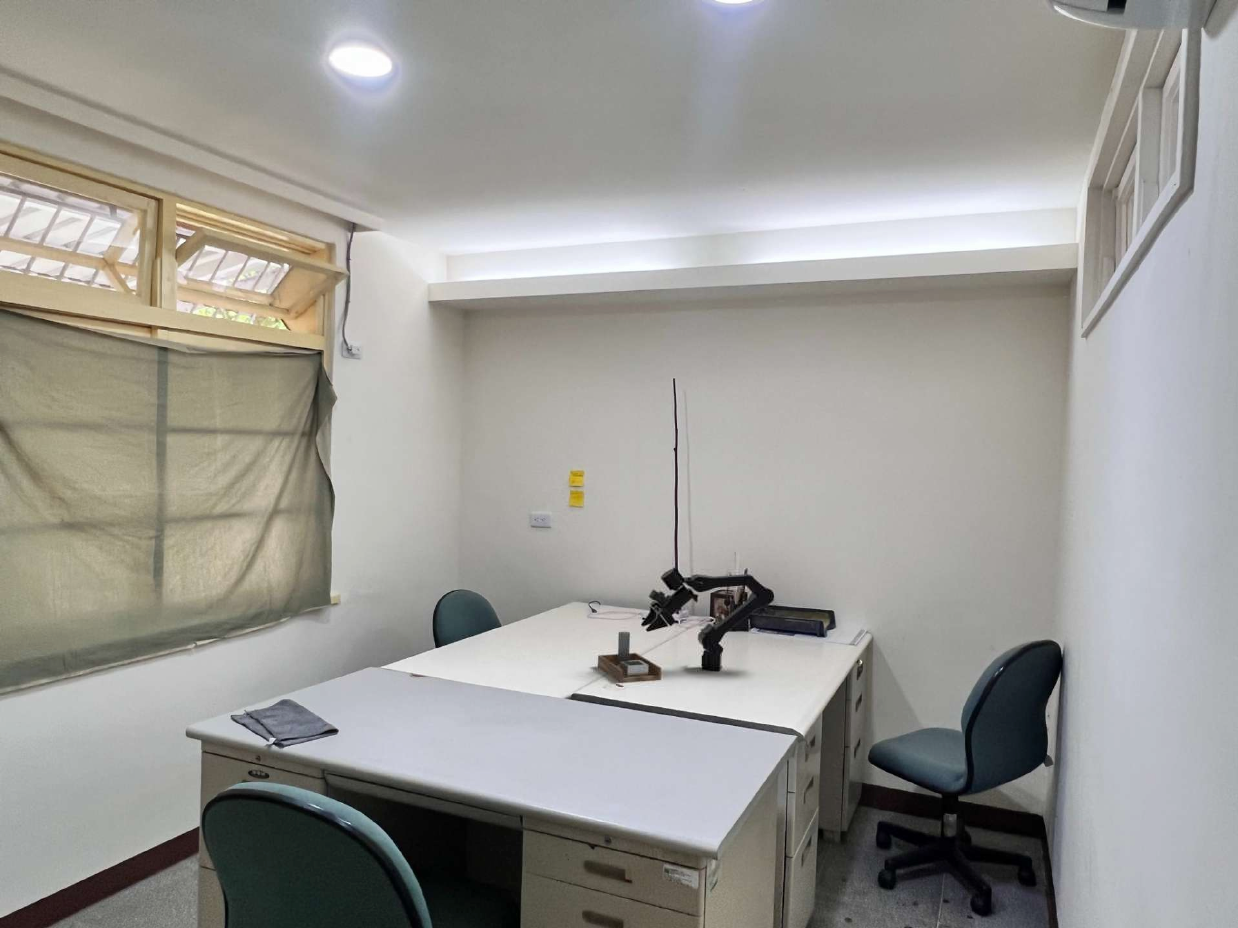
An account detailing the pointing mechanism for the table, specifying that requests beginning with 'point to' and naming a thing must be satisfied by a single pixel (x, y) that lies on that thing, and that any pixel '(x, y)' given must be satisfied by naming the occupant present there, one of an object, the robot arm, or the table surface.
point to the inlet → (634, 668)
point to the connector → (623, 647)
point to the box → (611, 667)
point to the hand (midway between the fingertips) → (644, 628)
